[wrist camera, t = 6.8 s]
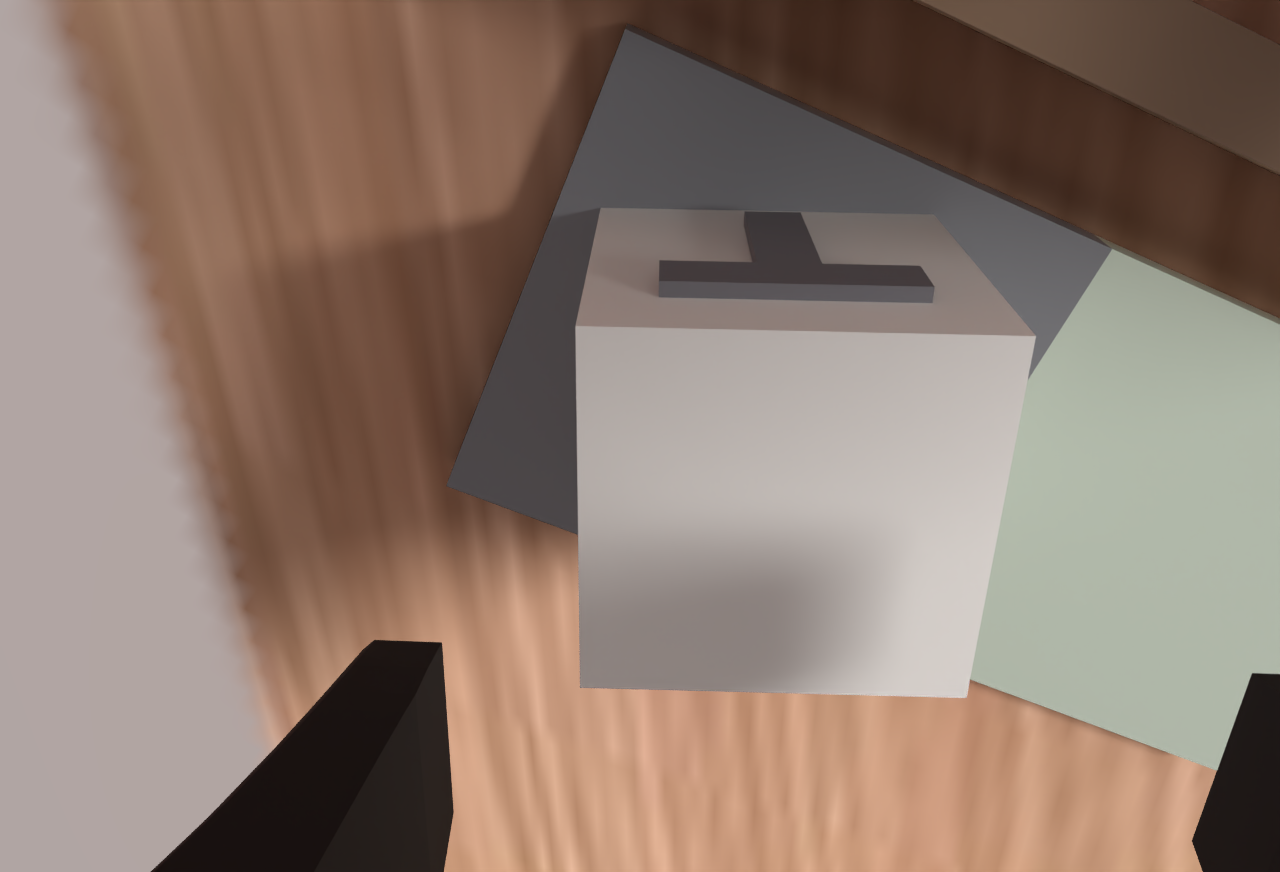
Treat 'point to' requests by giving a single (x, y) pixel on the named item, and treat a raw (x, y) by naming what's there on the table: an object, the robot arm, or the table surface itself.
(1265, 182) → the table surface
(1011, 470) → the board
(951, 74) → the table surface
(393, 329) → the table surface
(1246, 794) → the robot arm
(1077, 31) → the walnut block
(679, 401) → the lettered cube
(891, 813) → the table surface
